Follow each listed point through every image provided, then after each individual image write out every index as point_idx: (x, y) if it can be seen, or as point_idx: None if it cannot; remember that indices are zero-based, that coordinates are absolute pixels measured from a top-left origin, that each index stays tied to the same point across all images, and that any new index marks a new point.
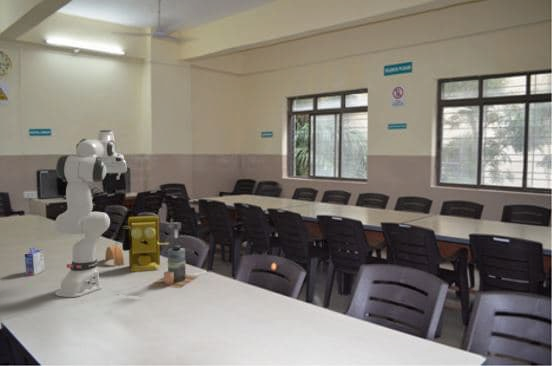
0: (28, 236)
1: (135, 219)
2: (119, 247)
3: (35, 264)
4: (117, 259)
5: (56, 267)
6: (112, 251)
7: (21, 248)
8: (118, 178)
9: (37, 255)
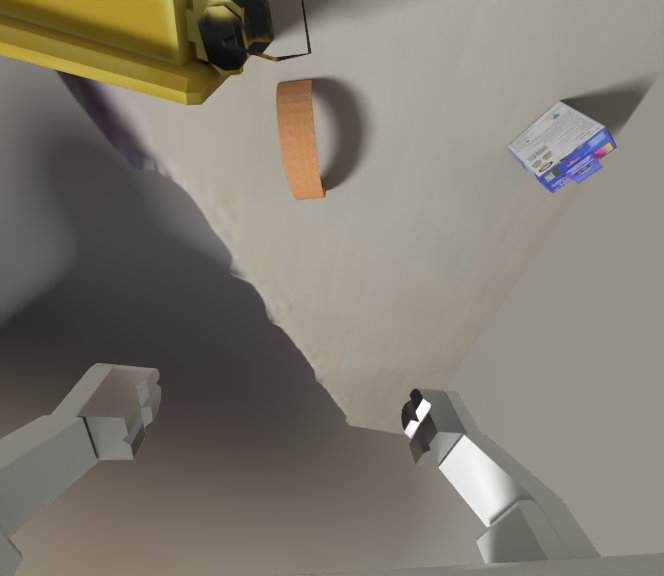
0: (410, 389)
1: (143, 63)
2: (283, 151)
3: (568, 119)
4: (298, 92)
5: (466, 166)
6: (311, 127)
7: (449, 341)
8: (96, 378)
9: (568, 145)
